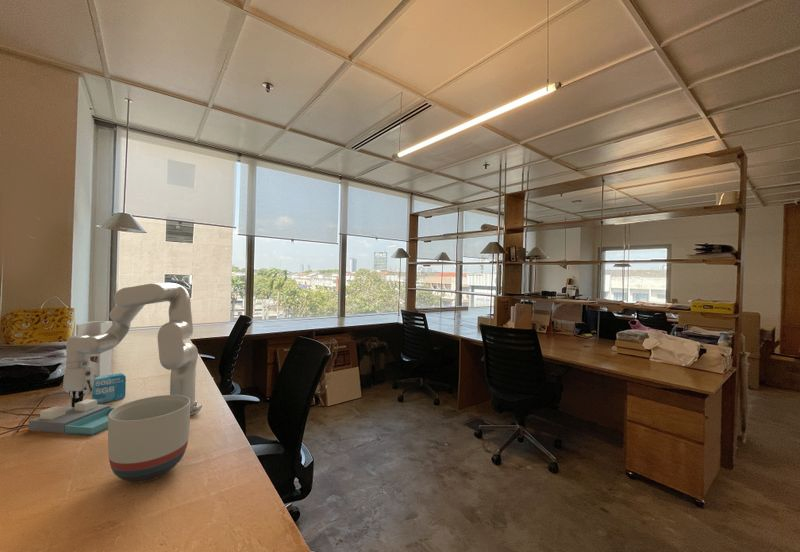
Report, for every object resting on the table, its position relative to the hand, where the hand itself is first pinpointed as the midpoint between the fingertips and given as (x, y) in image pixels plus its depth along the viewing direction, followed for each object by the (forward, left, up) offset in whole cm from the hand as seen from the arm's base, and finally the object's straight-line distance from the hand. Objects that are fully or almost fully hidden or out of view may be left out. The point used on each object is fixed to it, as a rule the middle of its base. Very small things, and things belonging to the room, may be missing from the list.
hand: (77, 406), depth 142 cm
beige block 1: (0, +9, -1) cm, 9 cm away
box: (-17, +4, -5) cm, 18 cm away
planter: (-66, +32, -5) cm, 74 cm away
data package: (+5, -19, -5) cm, 20 cm away
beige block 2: (-5, 0, -1) cm, 5 cm away
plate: (-3, +4, -5) cm, 7 cm away
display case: (+32, -35, -5) cm, 47 cm away
